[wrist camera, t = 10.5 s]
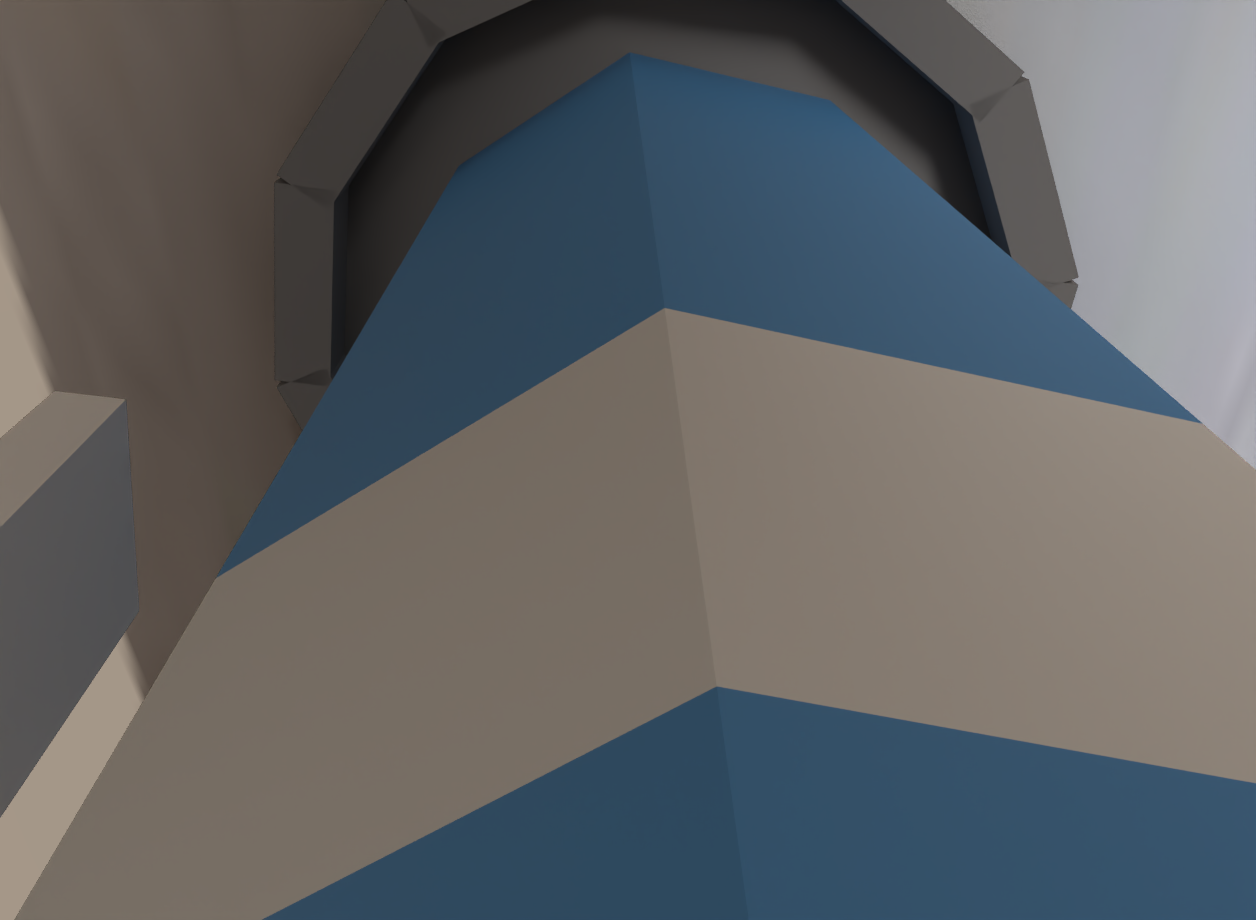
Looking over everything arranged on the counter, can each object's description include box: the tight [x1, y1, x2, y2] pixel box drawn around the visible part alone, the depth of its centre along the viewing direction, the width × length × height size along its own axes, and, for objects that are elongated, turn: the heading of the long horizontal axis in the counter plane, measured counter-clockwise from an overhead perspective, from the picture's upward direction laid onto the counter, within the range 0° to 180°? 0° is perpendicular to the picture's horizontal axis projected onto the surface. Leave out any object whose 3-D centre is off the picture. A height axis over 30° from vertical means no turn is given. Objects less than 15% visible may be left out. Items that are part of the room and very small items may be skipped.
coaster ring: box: [274, 0, 1078, 431], centre depth 21 cm, size 14×14×2 cm
